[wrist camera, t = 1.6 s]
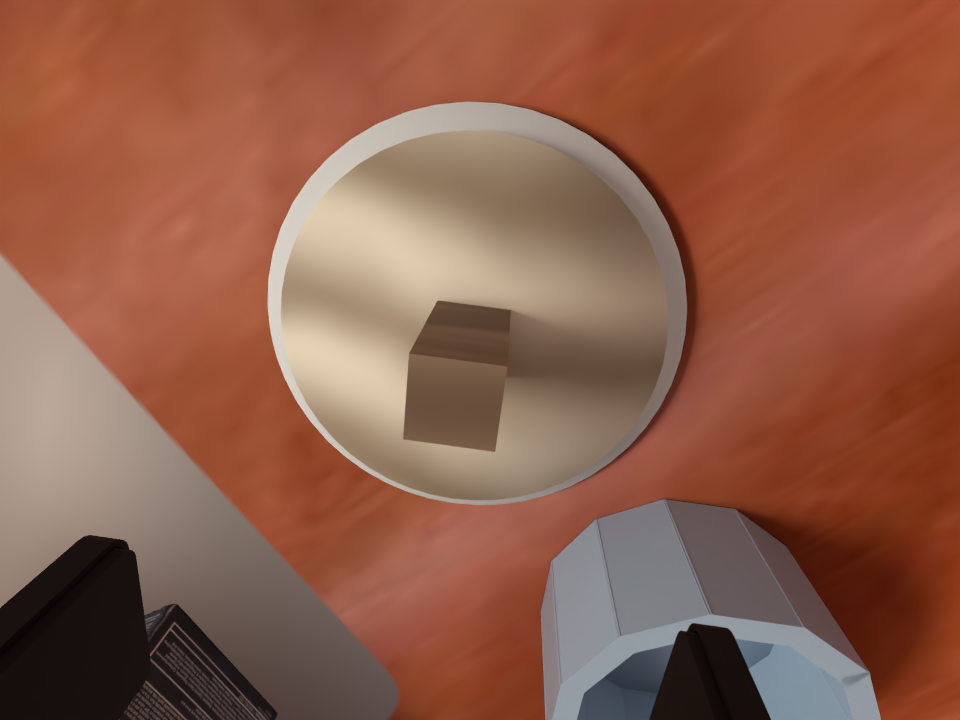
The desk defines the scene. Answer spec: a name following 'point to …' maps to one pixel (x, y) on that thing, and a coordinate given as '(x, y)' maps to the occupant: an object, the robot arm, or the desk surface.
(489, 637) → the desk surface
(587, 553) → the bowl
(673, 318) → the mat
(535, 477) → the lid
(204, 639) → the small box
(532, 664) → the desk surface
